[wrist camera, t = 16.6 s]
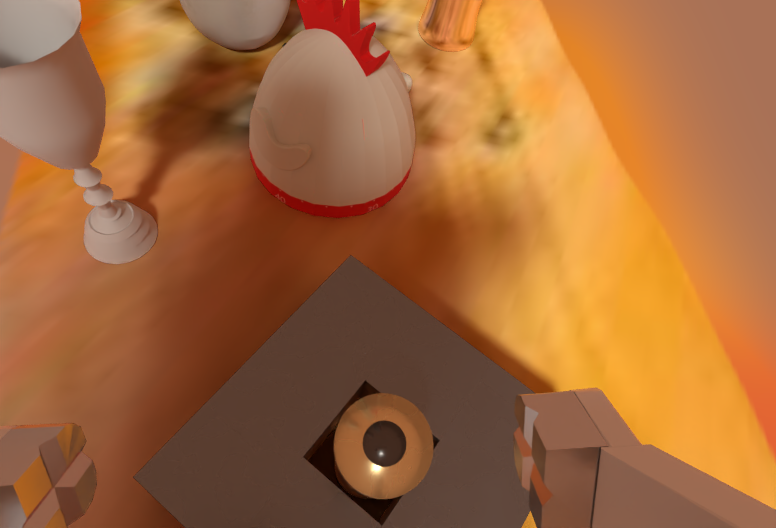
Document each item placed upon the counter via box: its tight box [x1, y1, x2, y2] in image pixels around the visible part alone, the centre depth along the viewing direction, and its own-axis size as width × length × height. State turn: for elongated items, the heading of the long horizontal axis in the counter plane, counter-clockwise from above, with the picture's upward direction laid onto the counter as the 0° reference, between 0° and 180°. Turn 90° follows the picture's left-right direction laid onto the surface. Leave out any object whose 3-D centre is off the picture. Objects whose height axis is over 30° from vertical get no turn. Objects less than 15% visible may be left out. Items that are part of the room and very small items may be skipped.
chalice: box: [0, 0, 158, 264], centre depth 30 cm, size 7×7×18 cm
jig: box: [133, 255, 536, 528], centre depth 31 cm, size 18×18×4 cm
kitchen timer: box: [249, 0, 415, 218], centre depth 38 cm, size 14×14×15 cm
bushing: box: [333, 393, 433, 499], centre depth 29 cm, size 5×5×8 cm
